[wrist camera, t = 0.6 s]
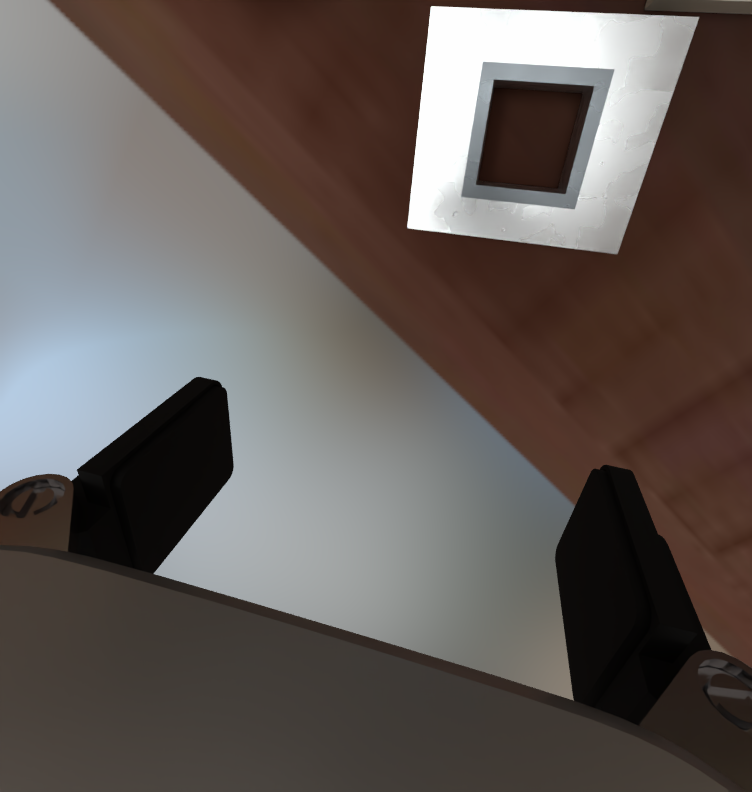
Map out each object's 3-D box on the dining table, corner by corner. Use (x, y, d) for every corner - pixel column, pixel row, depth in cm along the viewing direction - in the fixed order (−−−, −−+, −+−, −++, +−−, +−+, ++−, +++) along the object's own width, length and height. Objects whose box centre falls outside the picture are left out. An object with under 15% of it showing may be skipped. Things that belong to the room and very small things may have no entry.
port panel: (439, 22, 29) (430, 4, 25) (673, 33, 26) (701, 15, 23) (416, 219, 35) (406, 228, 31) (604, 242, 32) (618, 255, 29)
